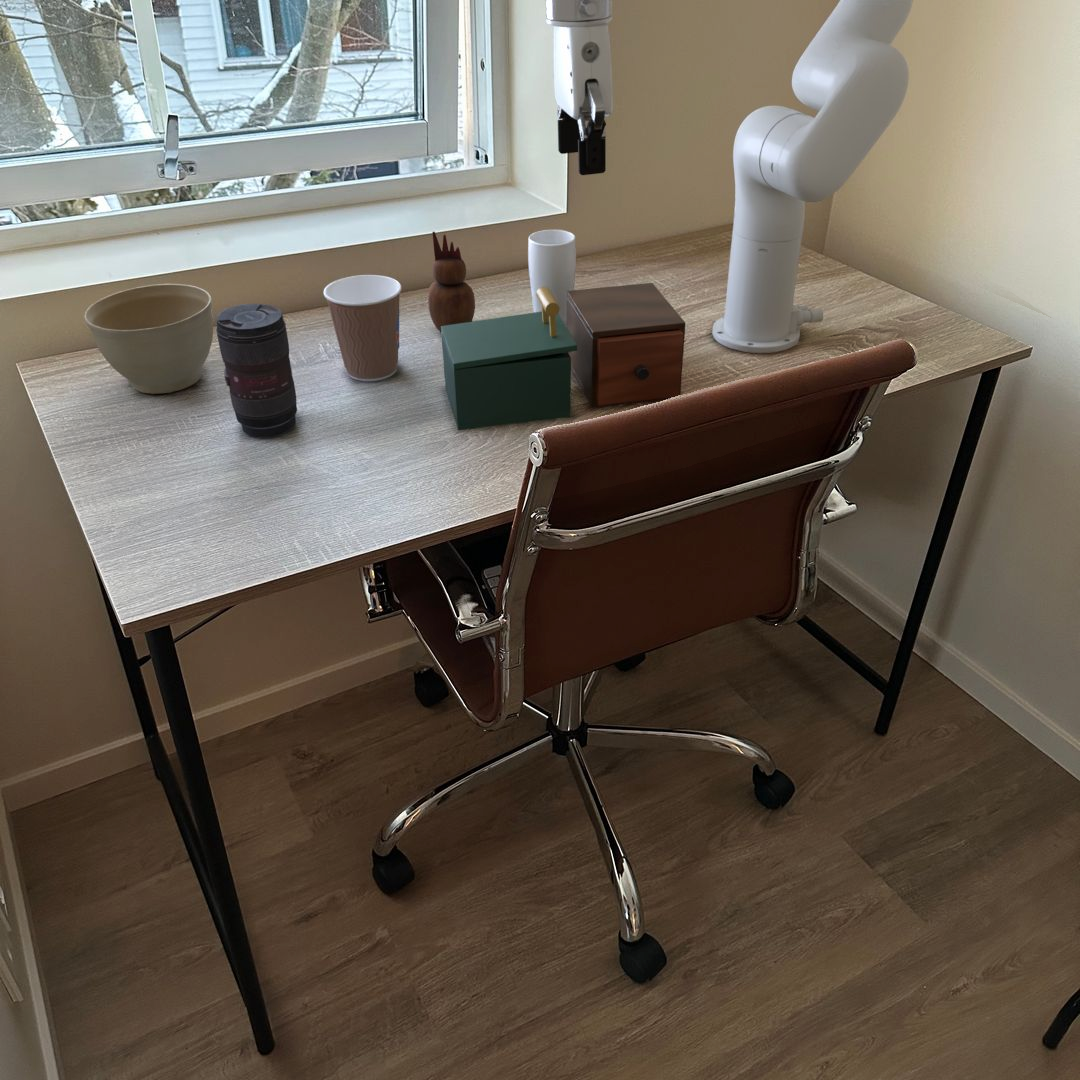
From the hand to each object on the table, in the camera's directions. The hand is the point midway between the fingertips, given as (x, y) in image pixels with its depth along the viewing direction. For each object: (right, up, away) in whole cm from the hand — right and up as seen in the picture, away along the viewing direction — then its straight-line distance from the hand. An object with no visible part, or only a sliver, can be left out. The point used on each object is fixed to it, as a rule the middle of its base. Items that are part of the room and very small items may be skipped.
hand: (581, 162), depth 125 cm
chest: (-9, -28, +9) cm, 31 cm away
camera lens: (-39, -32, +5) cm, 51 cm away
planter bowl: (-57, -24, +16) cm, 64 cm away
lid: (-9, -21, +4) cm, 23 cm away
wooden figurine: (-18, -15, +28) cm, 37 cm away
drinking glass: (-3, -17, +26) cm, 31 cm away
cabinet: (+6, -25, +14) cm, 29 cm away
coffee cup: (-29, -23, +17) cm, 41 cm away
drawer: (+7, -25, +11) cm, 28 cm away
